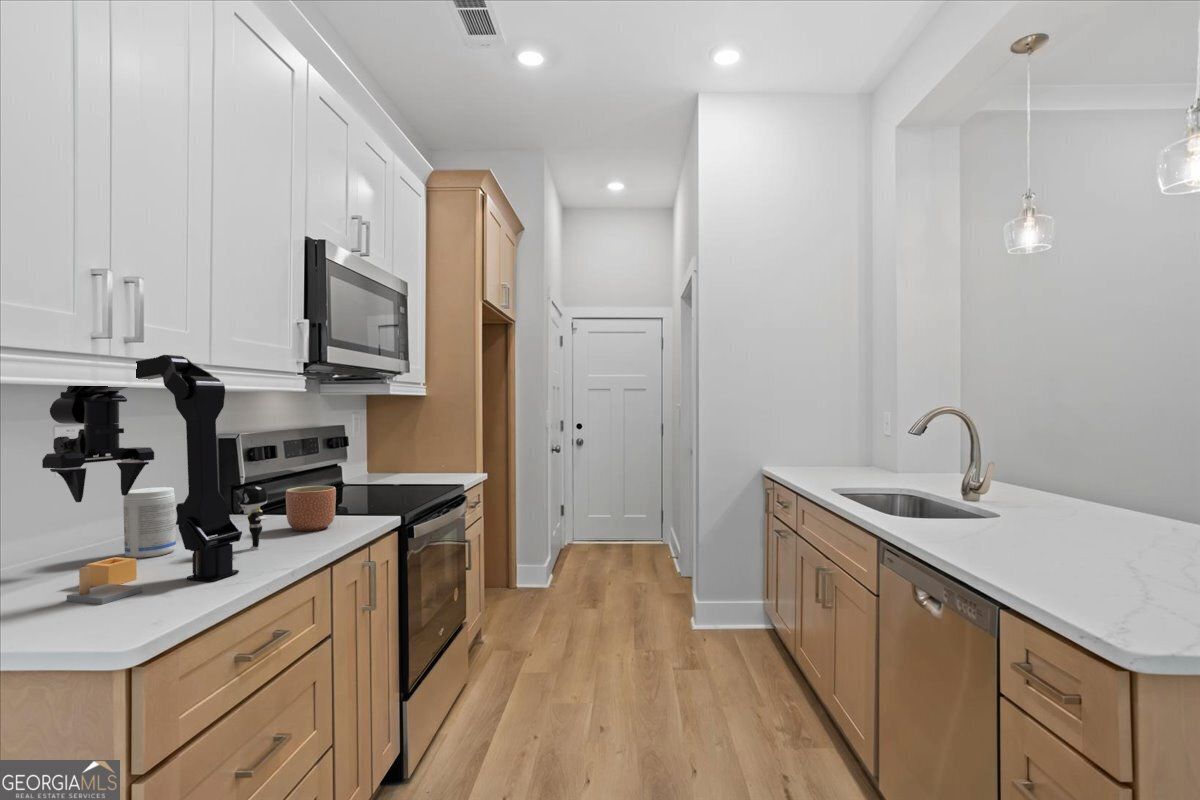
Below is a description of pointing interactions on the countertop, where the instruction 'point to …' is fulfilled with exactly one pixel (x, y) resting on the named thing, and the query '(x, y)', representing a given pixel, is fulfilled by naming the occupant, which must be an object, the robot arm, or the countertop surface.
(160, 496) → the supplement tub
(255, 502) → the toy
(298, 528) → the planter
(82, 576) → the grey base with peg
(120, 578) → the open tan tray box
